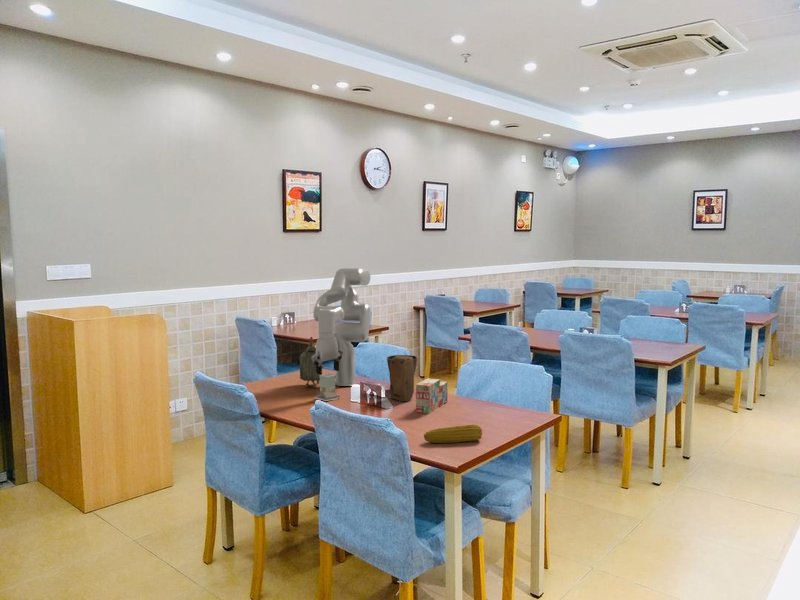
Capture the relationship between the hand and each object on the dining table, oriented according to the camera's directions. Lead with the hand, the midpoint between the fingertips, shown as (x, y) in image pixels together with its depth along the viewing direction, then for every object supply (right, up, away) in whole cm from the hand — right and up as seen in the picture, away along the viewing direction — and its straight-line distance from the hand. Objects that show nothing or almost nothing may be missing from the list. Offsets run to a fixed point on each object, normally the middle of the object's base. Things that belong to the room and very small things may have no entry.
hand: (327, 372), depth 268 cm
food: (+52, -18, -60) cm, 82 cm away
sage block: (0, -6, 0) cm, 6 cm away
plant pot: (+34, -11, +18) cm, 40 cm away
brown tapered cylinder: (+34, -13, -1) cm, 36 cm away
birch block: (0, -11, 0) cm, 11 cm away
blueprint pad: (0, -12, 0) cm, 12 cm away
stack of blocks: (+47, -14, -14) cm, 51 cm away
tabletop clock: (-12, -10, +25) cm, 30 cm away
